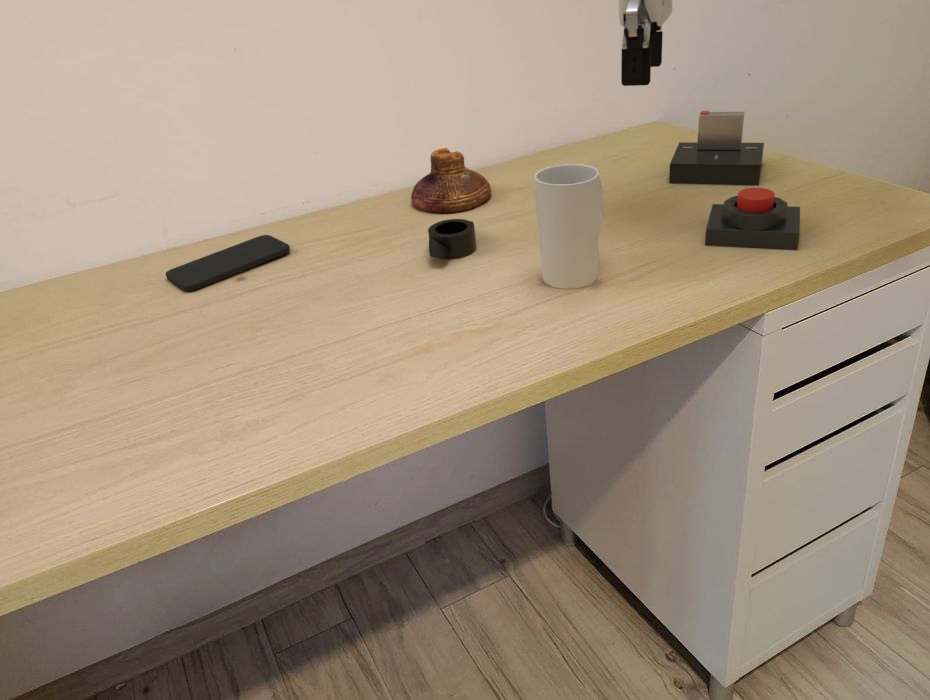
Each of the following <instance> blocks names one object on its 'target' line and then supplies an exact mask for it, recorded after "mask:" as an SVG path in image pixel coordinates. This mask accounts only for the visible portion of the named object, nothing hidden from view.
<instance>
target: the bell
mask: <svg viewBox="0 0 930 700" xmlns="http://www.w3.org/2000/svg"><path fill="white" fill-rule="evenodd" d="M465 165H466V163H465V157H464V154H462V153H461V151H459V150H455V151H452V152H451V151H450V149H449V148H447V147H443V148H438V149H435V150H433V151H432V152H431V154H430V172H429V173H428V174H426V175H425V176H423V177H422V178H420V180H418V181H417V183H416V184H415V185H414V187H413V189H412V192H411V194H410V201H411V203H412V205H413V206H414V207H415V208H417V209H419V210H421V211H425V212H430V213H440V214H445V213H446V214H447V213H455V212H462V211H467V210H470V209H473V208H476V207H478V206H479V205H481V204H483V203H485V202H486V201H487V200H489V199H490V197H491V195H492V187H491V183H490V182H489V181H488V179H486V177H485V176H484V175H482V174H481V173H479V172H477V171H475V170H472V169H469V168H468V167H466V166H465Z"/></svg>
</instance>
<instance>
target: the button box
mask: <svg viewBox="0 0 930 700" xmlns="http://www.w3.org/2000/svg"><path fill="white" fill-rule="evenodd" d="M737 197H738V195H734V196H731V197H730V198H727V199H725V200H724V201H723V204H722V203H712V206H711V209H710V213H709V215H708V216H709V217H708V220H707V224H706V228H705V240H704V247H719V248H720V247H723V248H741V249H742V248H743V249H758V250H759V249H760V250H761V249H762V250H764V249H765V250H779V251H780V250H781V251H798V248H799V242H800V234H801V206H788V202H786V201H785V200H784V199H782V198H780V197H778V196H775V198H774V206H773V209H772V210H770V211H764V212H747V211H743V210H739V209H738V208H737Z"/></svg>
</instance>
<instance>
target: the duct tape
mask: <svg viewBox="0 0 930 700" xmlns="http://www.w3.org/2000/svg"><path fill="white" fill-rule="evenodd" d="M427 233H428V252H429V257H432V258H435V259H440V260H455V259H461V258H464V257H467V256H470V255H471V254H474V252H475V251H476V250H477V239H476V229H475V223H474V221H471V220H469V219H464V218H451V219H450V218H449V219H444V220H441V221H438V222H435V223H433V224H432V225H430V226H429V227H428V228H427Z"/></svg>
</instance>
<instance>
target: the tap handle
mask: <svg viewBox="0 0 930 700" xmlns="http://www.w3.org/2000/svg"><path fill="white" fill-rule="evenodd" d="M744 121H745V111H710V110H701V111H700V112H699V114H698V126H697V127H698V129H697V150H741V145H742V143H743V133H744Z"/></svg>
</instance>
